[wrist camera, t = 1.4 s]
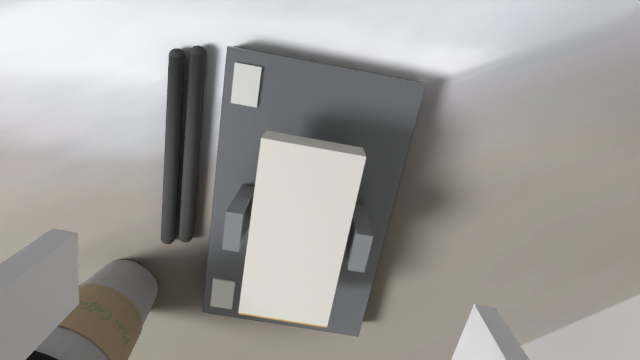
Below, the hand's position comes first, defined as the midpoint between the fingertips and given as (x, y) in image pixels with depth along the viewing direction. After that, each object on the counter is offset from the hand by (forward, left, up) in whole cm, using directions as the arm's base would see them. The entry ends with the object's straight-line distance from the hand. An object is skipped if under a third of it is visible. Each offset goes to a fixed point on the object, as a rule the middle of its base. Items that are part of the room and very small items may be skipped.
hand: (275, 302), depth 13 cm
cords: (+2, -9, -21) cm, 23 cm away
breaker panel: (+5, +1, -21) cm, 21 cm away
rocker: (+5, +1, -16) cm, 17 cm away
